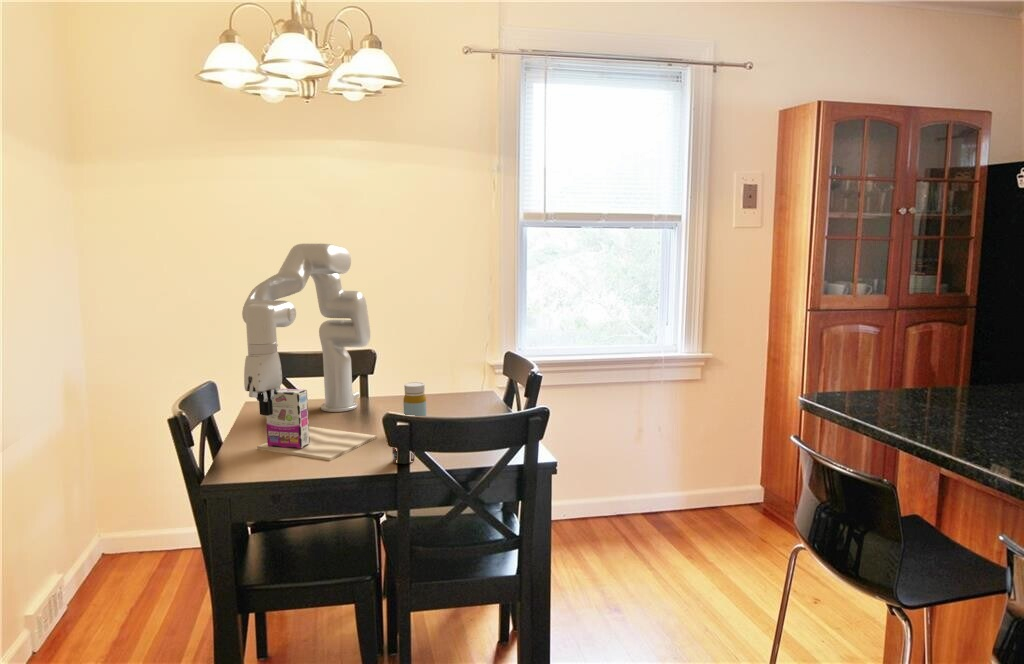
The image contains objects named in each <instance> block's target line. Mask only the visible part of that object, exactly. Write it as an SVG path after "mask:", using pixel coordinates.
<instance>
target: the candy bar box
mask: <svg viewBox="0 0 1024 664" xmlns="http://www.w3.org/2000/svg"><path fill="white" fill-rule="evenodd" d="M308 404H309V403H308V390H307V389H299V388H298V389H296V388H280V390H278V391H277V392H276V393H275V394H274V399H273V400H272V406H273V414H272V415H269V416H266V415H265V422H266V439H267V442H268V446H269V447H283V448H297V449H302V448H304V447H305V446H307V445H309V444H310V438H309V427H310V423H309V407H308Z"/></svg>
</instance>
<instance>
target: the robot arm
mask: <svg viewBox="0 0 1024 664" xmlns="http://www.w3.org/2000/svg"><path fill="white" fill-rule="evenodd" d="M351 265H352V258H351V254H350V252H349V251H348V249H347V248H345V247H341V246H338V245H334V244H330V243H298V244H296V245H294V246H292V247H291V249H290V250H289V252H288V254H287V256H286V258H285V259H284V261H283V262H282V265H281V267H280V268H279V270H278V272H277V273H276V274H274V275H271V276H270V277H268V278H267V279H265V280H264V281H262V282H260V283H258V284H257V285H255V286H254V288H252V290H251V291H250V293H249V294H248V296H247V297H246V300H245V302H244V303H243V304H244V305H243V306H242V313H241V315H242V320H243V322H244V323H245V326H246V342H247V355H246V356H245V359H244V370H243V371H244V372H243V386H244V390H245V391H246V392H248V397H249V398H254V399H256V400H257V402H258V407H259V408H258V409H259V415H261V416H265V417H266V416H269V415H272V414H273V406H272V400H273V399H274V394H275V393H276V392H277V391H278V390H280V389H281V386H282V384H283V373H282V372H283V371H282V363H281V359H280V354H279V352H278V345H279V344H278V340H277V339H278V338H277V328H287V327H289V326H291V325H292V324H293V323H294V322H295V320H296V317H297V310H296V307H295V305H294V304H293V303H291V302H290V301H286V300H279V299H284V298H287V297H290V296H293V295H295V294H297V293H301V291H303V289H304V288H305V286H306V285H307V283H308V280H309V278H310V277H311V278H312V280H313V282H314V286H315V291H316V292H315V293H316V297H317V298H316V299H317V303H318V307H319V313H320V314H321V316H323V318H327V319H329V320H325V321H323V322H322V323H321V324H320V326H319V328H318V337H319V340H320V345H321V350H322V361H323V385H324V386H323V387H324V401H325V402H324V403H322V404H321V405H320V409H321V410H322V411H324V412H331V413H339V412H341V413H343V412H347V411H352V410H355V409H356V408H358V403H357V402H356V401H355V399H357V398H359V397H360V393H359V392H358V391H356V392H353V377H352V376H353V375H352V374H353V373H352V357H351V355H350V353H349V352H348V351H347V349H346V348H363V347H366V346H368V344H369V343H370V342H371V341H370V340H371V328H370V327H371V326H370V320H369V314H368V305H367V301H366V297H365V295H364V294H363V293H362V292H360V291H359V290H358V291H357V290H344V289H343V287H342V281H341V277H340V275H344V274H346V273H347V272H348V271H349V270H350V269H351Z"/></svg>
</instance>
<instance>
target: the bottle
mask: <svg viewBox="0 0 1024 664" xmlns="http://www.w3.org/2000/svg"><path fill="white" fill-rule="evenodd" d="M403 387H404V396H403V415H404V414H405V415H415V416H427V397H426V395H425V394H426V393H425V383H424V382H417V381H415V382H413V381H412V382H408V383H404V386H403Z"/></svg>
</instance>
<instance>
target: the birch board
mask: <svg viewBox="0 0 1024 664" xmlns="http://www.w3.org/2000/svg"><path fill="white" fill-rule="evenodd" d="M309 438H310V444H309V445H307V446H305V447H304V448H302V449H297V448H283V447H269V446H268V441H267V442H264V443H262V444H259V445H257V446H256V449H257V450H261V451H266V450H267V451H268V452H274V453H279V454H287V455H292V456H298V457H299V456H300V457H305V458H312V459H318V460H325V461H333V460H334V458H335V459H337V458H339V457H341V456H342V455H345V454H347V453H349V452H351V451H353V450H355V448H356V449H358V448H360V447H362V446H363V444H364V445H365V443H366V444H368V443H369V441H370V442H372V441H374V440H376V439H378V436H377V435H376V434H368V433H367V434H366V433H362V432H352V431H344V430H339V429H331V428H323V427H316V426H309ZM375 438H376V439H375ZM373 439H374V440H373ZM371 440H372V441H371ZM367 442H368V443H367ZM361 445H362V446H361ZM359 446H360V447H359ZM357 447H358V448H357ZM267 451H266V452H267Z"/></svg>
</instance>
